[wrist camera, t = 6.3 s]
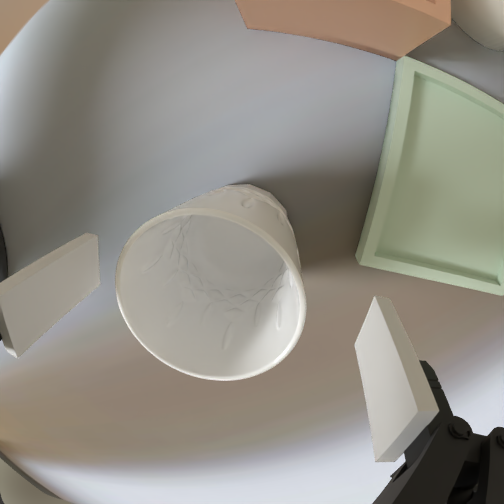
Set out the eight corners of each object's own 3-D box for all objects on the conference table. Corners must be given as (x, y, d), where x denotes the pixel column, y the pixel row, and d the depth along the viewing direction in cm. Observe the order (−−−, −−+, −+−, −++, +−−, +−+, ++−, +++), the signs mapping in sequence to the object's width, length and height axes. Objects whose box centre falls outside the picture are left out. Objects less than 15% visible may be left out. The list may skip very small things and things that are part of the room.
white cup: (263, 152, 19) (236, 165, 9) (319, 255, 21) (338, 346, 11) (167, 210, 21) (84, 266, 12) (224, 299, 23) (185, 396, 14)
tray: (355, 255, 20) (359, 264, 19) (396, 61, 15) (404, 55, 14) (493, 287, 20) (502, 295, 18) (535, 133, 14) (546, 134, 13)
